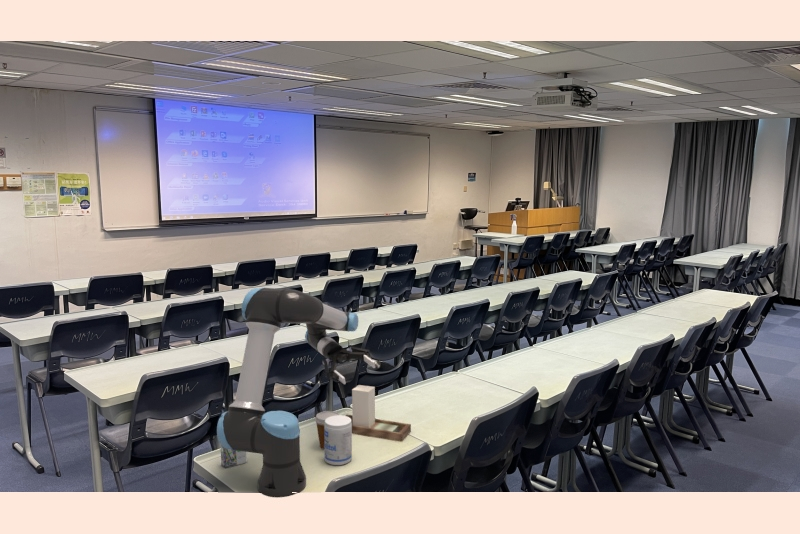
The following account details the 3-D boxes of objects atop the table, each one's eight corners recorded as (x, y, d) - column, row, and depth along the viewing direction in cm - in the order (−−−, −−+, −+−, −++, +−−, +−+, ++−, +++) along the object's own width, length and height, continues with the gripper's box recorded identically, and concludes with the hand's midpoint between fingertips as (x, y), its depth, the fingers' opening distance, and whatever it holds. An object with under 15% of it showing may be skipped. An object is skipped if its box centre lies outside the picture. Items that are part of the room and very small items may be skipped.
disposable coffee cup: (310, 448, 213) (309, 417, 211) (325, 438, 221) (324, 408, 220) (331, 454, 209) (331, 422, 207) (346, 443, 217) (345, 413, 215)
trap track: (335, 430, 229) (335, 423, 228) (346, 421, 238) (346, 414, 238) (401, 441, 219) (401, 434, 218) (410, 431, 228) (410, 424, 228)
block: (352, 426, 228) (352, 389, 226) (359, 420, 234) (358, 384, 232) (368, 429, 226) (368, 391, 224) (375, 423, 231) (374, 387, 229)
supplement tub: (319, 462, 202) (318, 422, 200) (334, 451, 211) (333, 412, 209) (342, 468, 198) (341, 427, 196) (357, 457, 206) (356, 417, 204)
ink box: (247, 462, 202) (245, 422, 200) (224, 468, 198) (222, 427, 196) (243, 458, 205) (242, 419, 203) (221, 464, 201) (219, 424, 199)
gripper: (357, 344, 243) (387, 366, 227) (305, 370, 230) (333, 396, 215) (354, 329, 239) (384, 350, 223) (301, 355, 227) (329, 380, 211)
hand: (359, 373), depth 219 cm, fingers open, 13 cm apart
